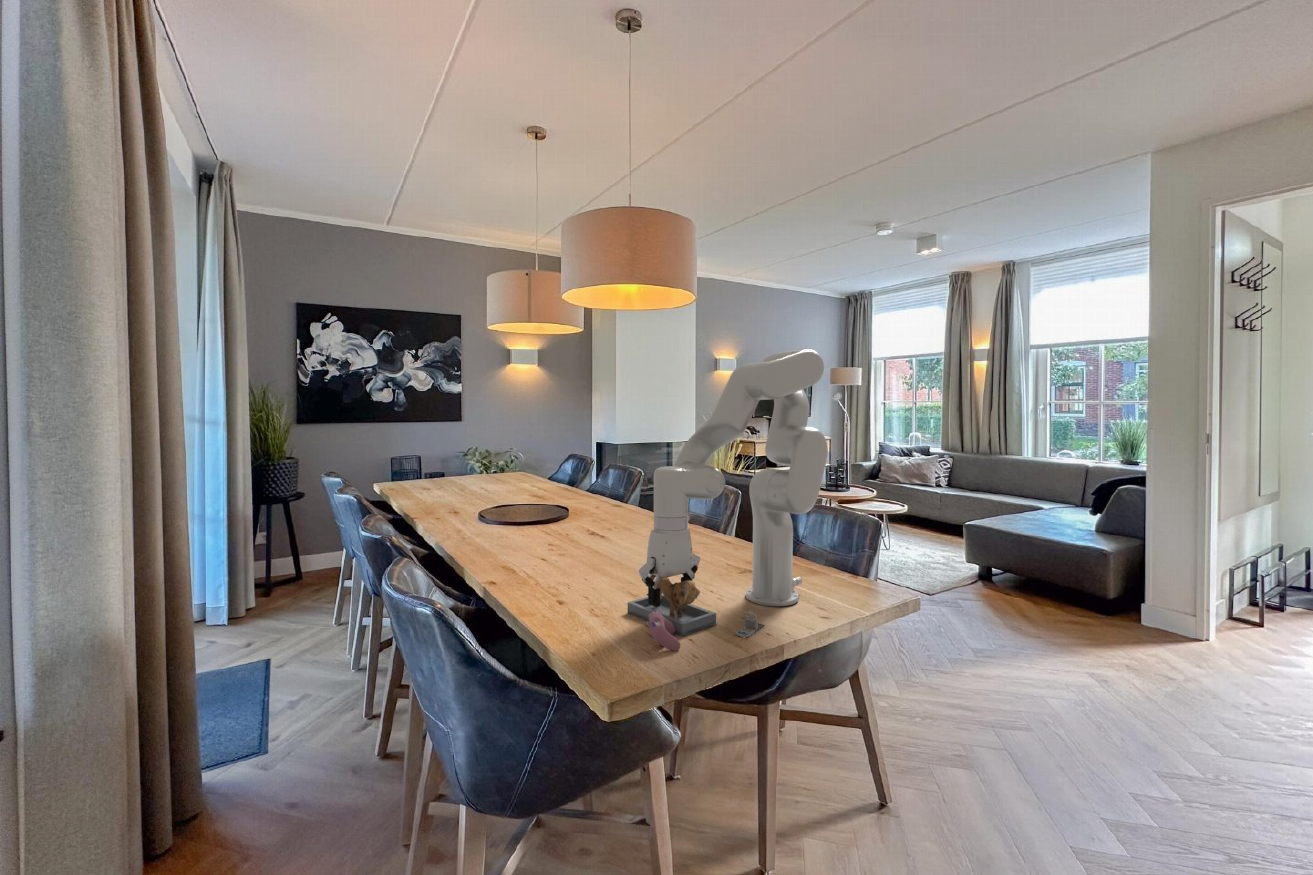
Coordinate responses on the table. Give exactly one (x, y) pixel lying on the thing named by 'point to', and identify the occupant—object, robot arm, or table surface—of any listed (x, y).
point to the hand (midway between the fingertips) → (670, 600)
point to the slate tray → (684, 624)
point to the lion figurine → (678, 594)
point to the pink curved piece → (663, 631)
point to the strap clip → (749, 626)
